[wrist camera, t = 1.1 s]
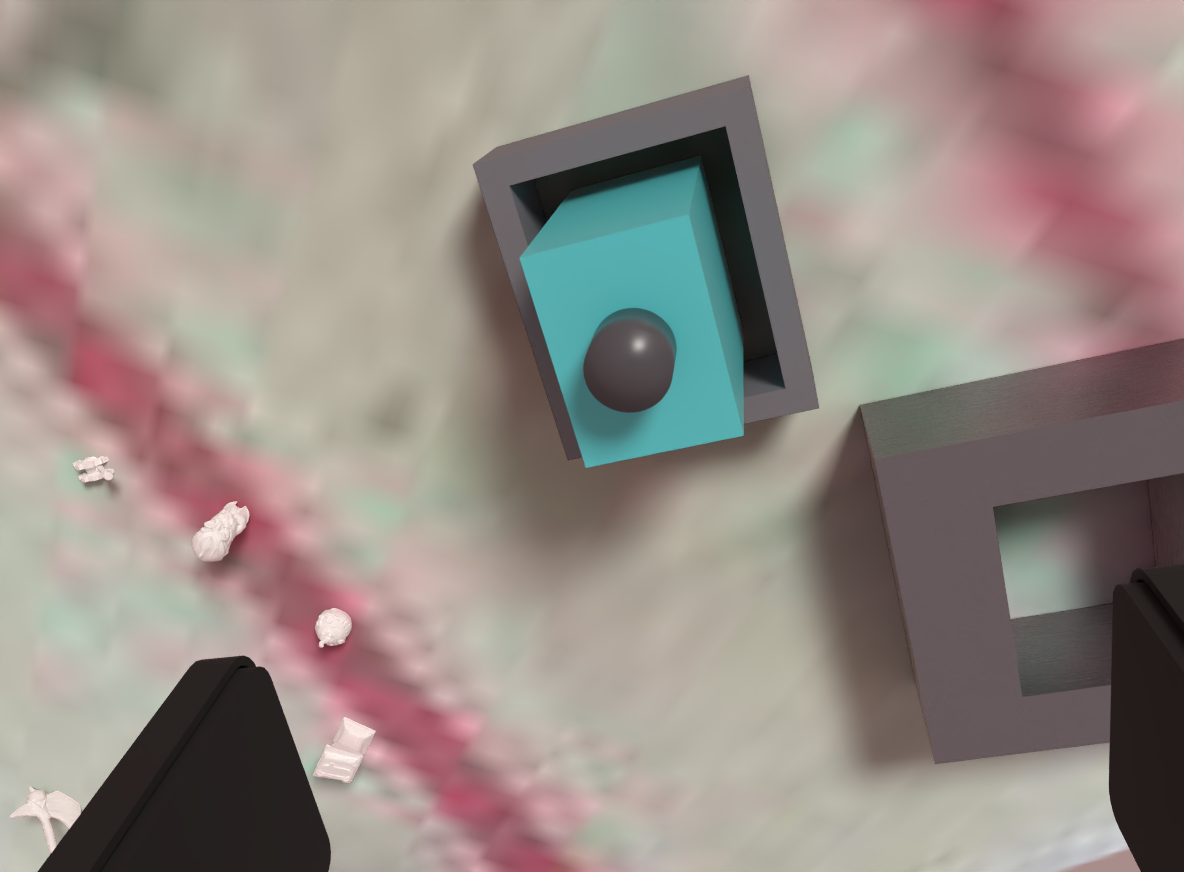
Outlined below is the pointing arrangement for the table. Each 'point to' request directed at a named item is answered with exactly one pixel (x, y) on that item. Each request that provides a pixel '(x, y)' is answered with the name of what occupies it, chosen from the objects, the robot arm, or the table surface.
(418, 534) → the table surface
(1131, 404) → the port
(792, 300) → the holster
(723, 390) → the plug
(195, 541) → the game piece set
